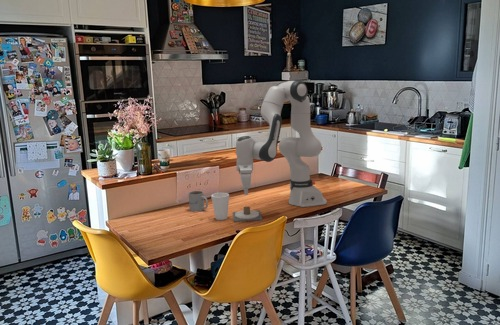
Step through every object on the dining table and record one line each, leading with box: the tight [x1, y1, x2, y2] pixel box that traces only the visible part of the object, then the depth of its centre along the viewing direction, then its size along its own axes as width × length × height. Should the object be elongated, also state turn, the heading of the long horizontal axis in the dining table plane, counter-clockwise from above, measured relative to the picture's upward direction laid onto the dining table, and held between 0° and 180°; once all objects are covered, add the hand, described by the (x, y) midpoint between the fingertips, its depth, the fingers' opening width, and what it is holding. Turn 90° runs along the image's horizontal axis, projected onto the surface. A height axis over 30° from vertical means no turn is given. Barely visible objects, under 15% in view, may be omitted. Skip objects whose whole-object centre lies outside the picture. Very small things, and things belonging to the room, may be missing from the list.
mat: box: [232, 210, 263, 223], centre depth 233 cm, size 15×15×1 cm
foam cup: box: [210, 192, 230, 221], centre depth 231 cm, size 10×9×13 cm
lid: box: [235, 206, 259, 219], centre depth 232 cm, size 13×13×4 cm
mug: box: [188, 190, 209, 213], centre depth 247 cm, size 12×9×10 cm
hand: (245, 192), depth 230 cm, fingers open, 8 cm apart
